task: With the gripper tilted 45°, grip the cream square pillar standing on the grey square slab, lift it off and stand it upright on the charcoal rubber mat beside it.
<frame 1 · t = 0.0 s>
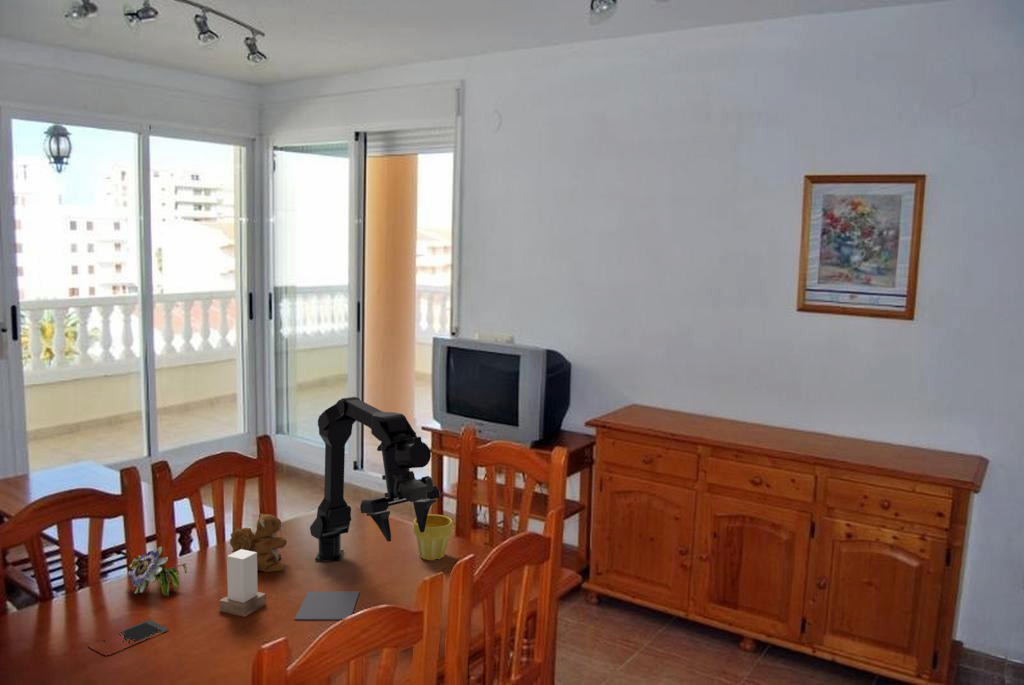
hand: (406, 536, 182), 15 cm above the table, tool pointing down, fingers open, 9 cm apart
cream pillar: (242, 596, 178), point 2 cm above the table, touching grey square slab
charcoal mat: (328, 605, 180), on the table
plant pot: (432, 556, 211), on the table
grey square slab: (243, 607, 178), on the table
passion flower: (156, 589, 187), on the table
stuffed squirrel: (258, 566, 202), on the table
cell phone: (129, 640, 163), on the table
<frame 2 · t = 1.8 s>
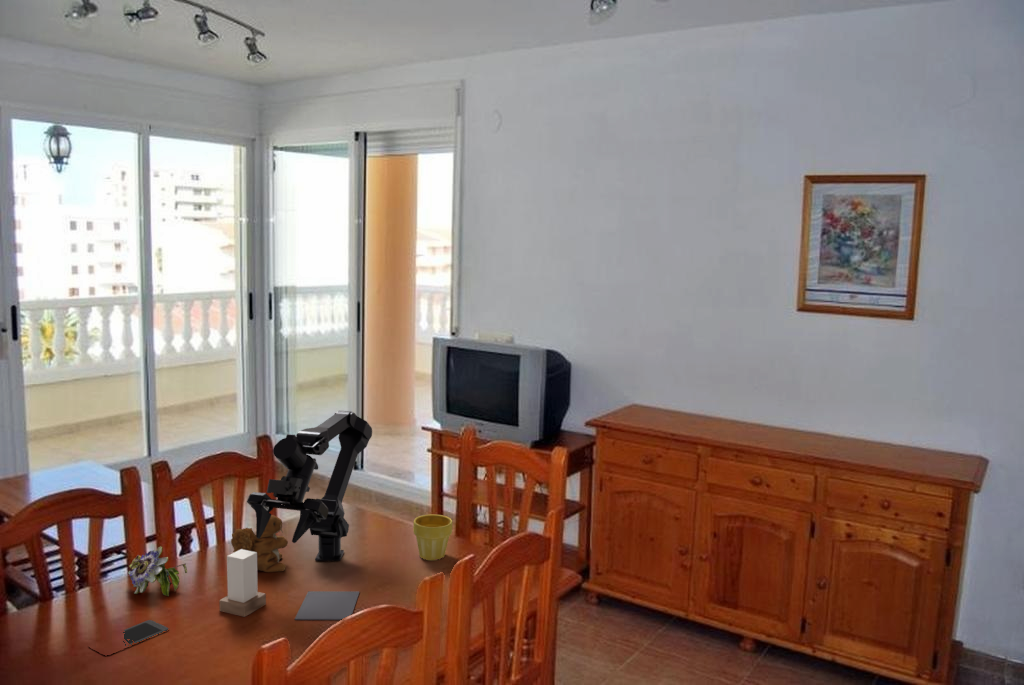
hand: (275, 540, 182), 14 cm above the table, tool tilted 40°, fingers open, 9 cm apart
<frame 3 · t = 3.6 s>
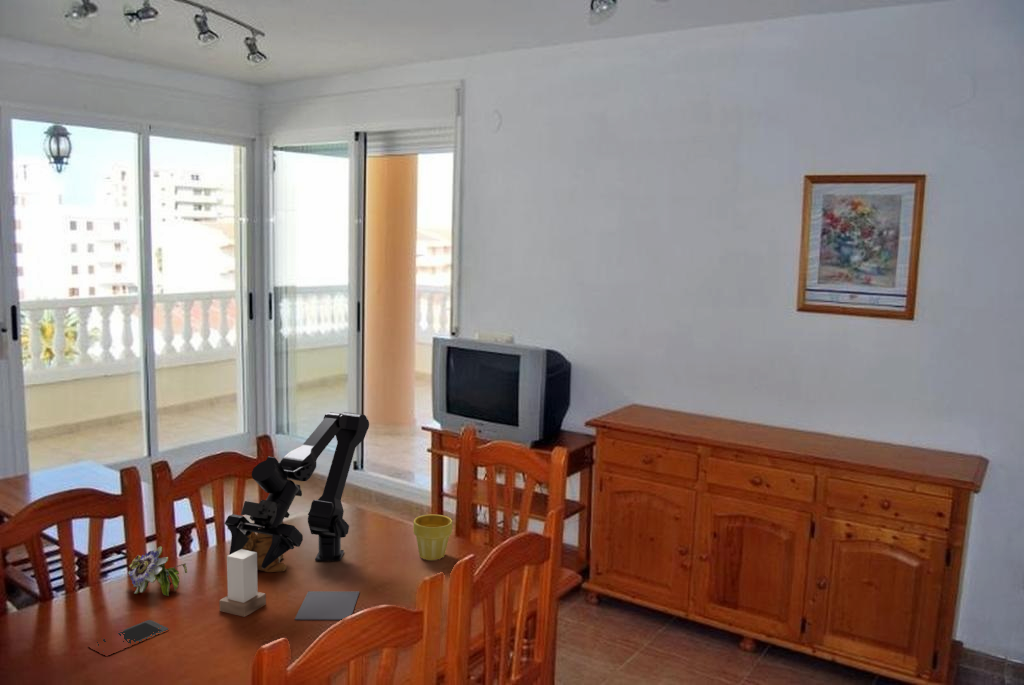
hand: (246, 564, 178), 10 cm above the table, tool tilted 45°, fingers open, 9 cm apart
nothing on the table moved.
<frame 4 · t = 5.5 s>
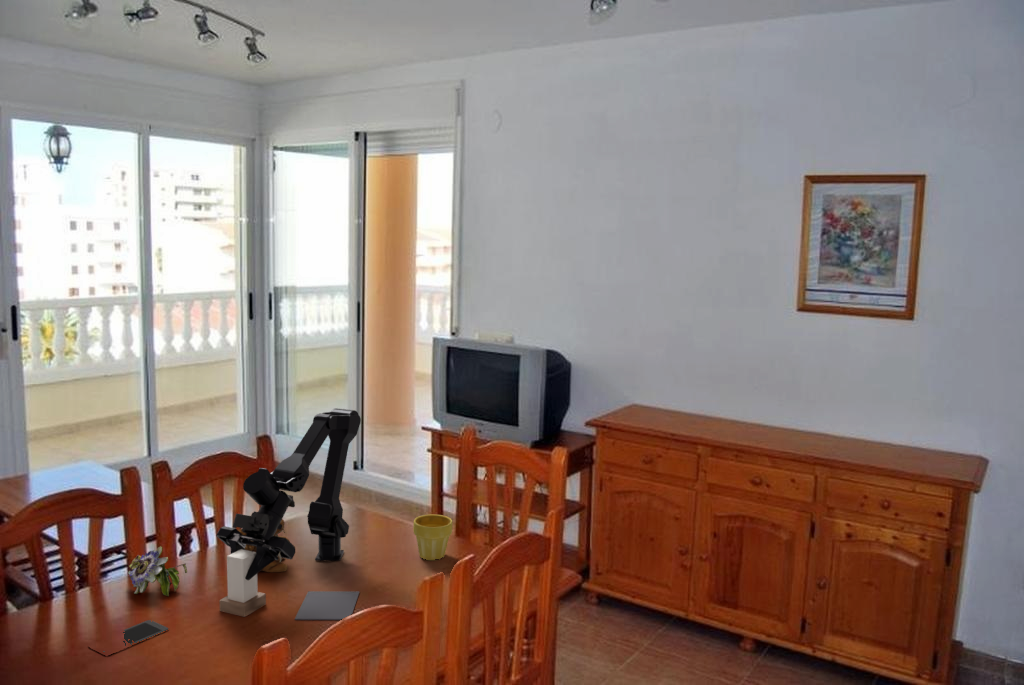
hand: (238, 577, 176), 8 cm above the table, tool tilted 45°, fingers closed on cream pillar, 4 cm apart
cream pillar: (242, 596, 178), point 2 cm above the table, touching gripper, grey square slab
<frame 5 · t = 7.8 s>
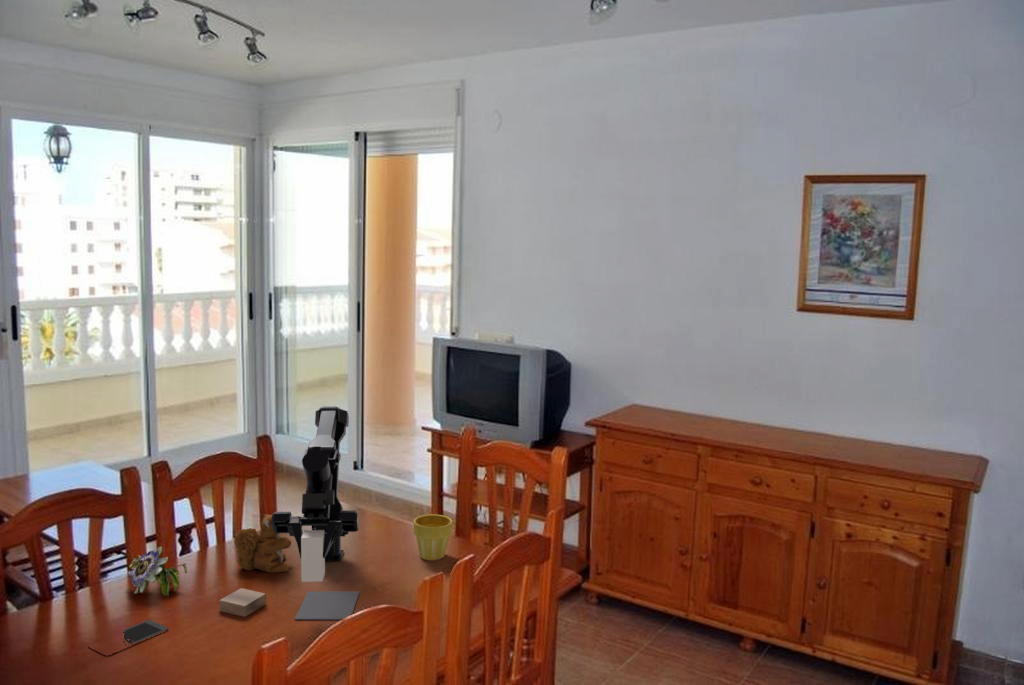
hand: (312, 557, 173), 13 cm above the table, tool tilted 45°, fingers closed on cream pillar, 4 cm apart
cream pillar: (313, 577, 175), point 8 cm above the table, touching gripper
when the fingers open (7 cm above the table, at t = 10.5 s): cream pillar drops 1 cm, resting on charcoal mat.
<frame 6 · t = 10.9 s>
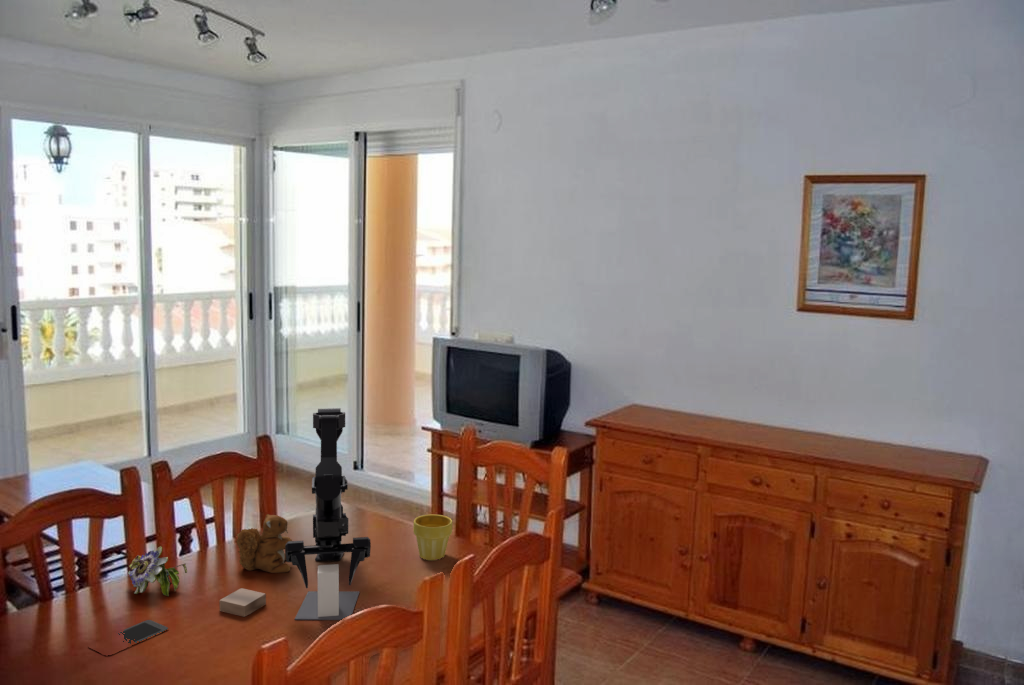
hand: (328, 586, 174), 7 cm above the table, tool tilted 45°, fingers open, 9 cm apart
cream pillar: (328, 611, 177), resting on charcoal mat
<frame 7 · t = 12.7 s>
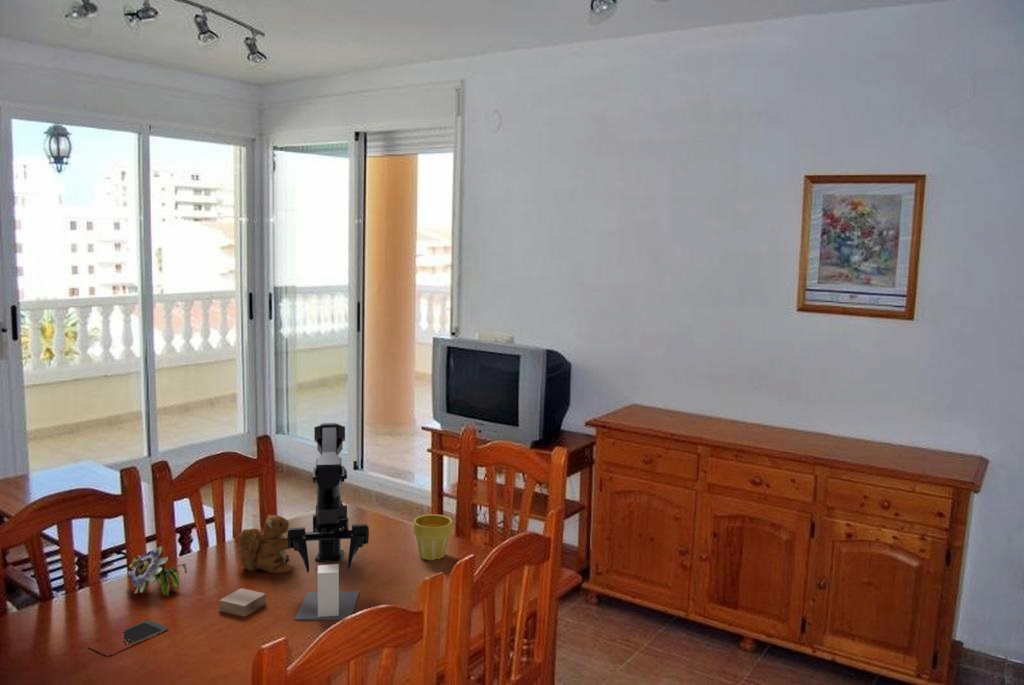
hand: (328, 570, 183), 7 cm above the table, tool tilted 45°, fingers open, 9 cm apart
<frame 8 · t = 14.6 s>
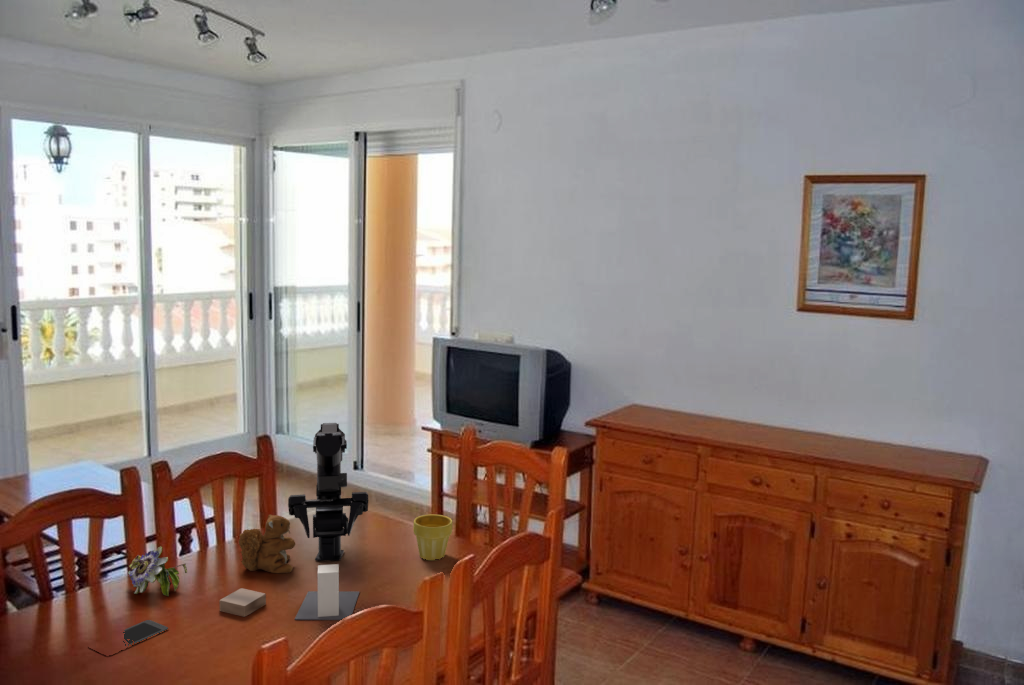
hand: (328, 536, 186), 14 cm above the table, tool tilted 45°, fingers open, 9 cm apart
at the end: cream pillar inside the target area on the charcoal mat (2.8 cm from its centre), point 0.3 cm above the charcoal mat's base; cream pillar tilted 0°; cream pillar touching charcoal mat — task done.
